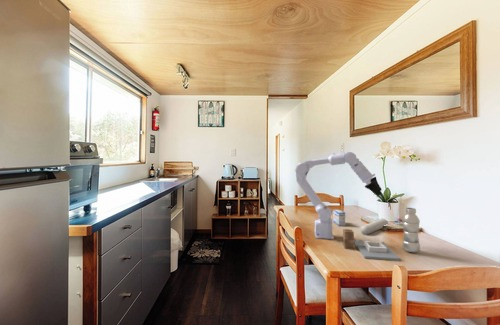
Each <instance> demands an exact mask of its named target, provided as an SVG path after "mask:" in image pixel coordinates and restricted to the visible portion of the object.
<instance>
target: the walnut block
mask: <svg viewBox="0 0 500 325" xmlns="http://www.w3.org/2000/svg"><path fill="white" fill-rule="evenodd" d="M354 234H355V232H354V231H353V230H352V229H347V228H343V229H342V245H343V248H344V249H350V250H352V249H355V248H354V246H355V244H354V241H355V240H354V239H355V238H354V237H355V236H354Z"/></svg>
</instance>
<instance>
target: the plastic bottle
mask: <svg viewBox="0 0 500 325" xmlns="http://www.w3.org/2000/svg"><path fill="white" fill-rule="evenodd" d="M416 213H417V210H416V208H414V207H406V208H405V214H404V215H403V216H402V219H401V220H402V227H403V239H402V248H403V250H405V251H407V252H410V253H412V254H415V253H419V252H420V250H421V244H420V240H419V238H420V237H419V228H420V221H421V220H420V218H419V217H418V216H417V214H416Z"/></svg>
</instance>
